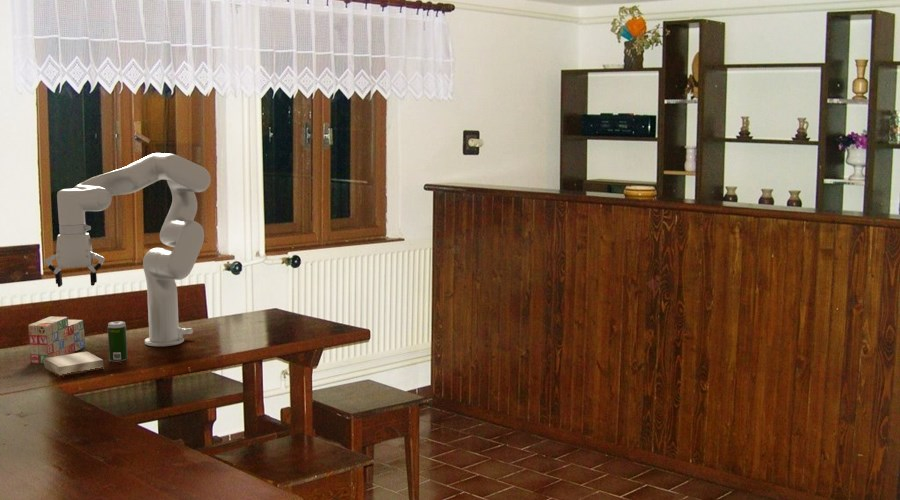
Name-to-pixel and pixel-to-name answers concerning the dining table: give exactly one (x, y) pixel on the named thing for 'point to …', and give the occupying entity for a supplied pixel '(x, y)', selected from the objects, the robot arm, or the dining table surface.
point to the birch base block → (73, 362)
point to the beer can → (117, 341)
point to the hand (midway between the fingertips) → (76, 285)
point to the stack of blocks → (55, 338)
